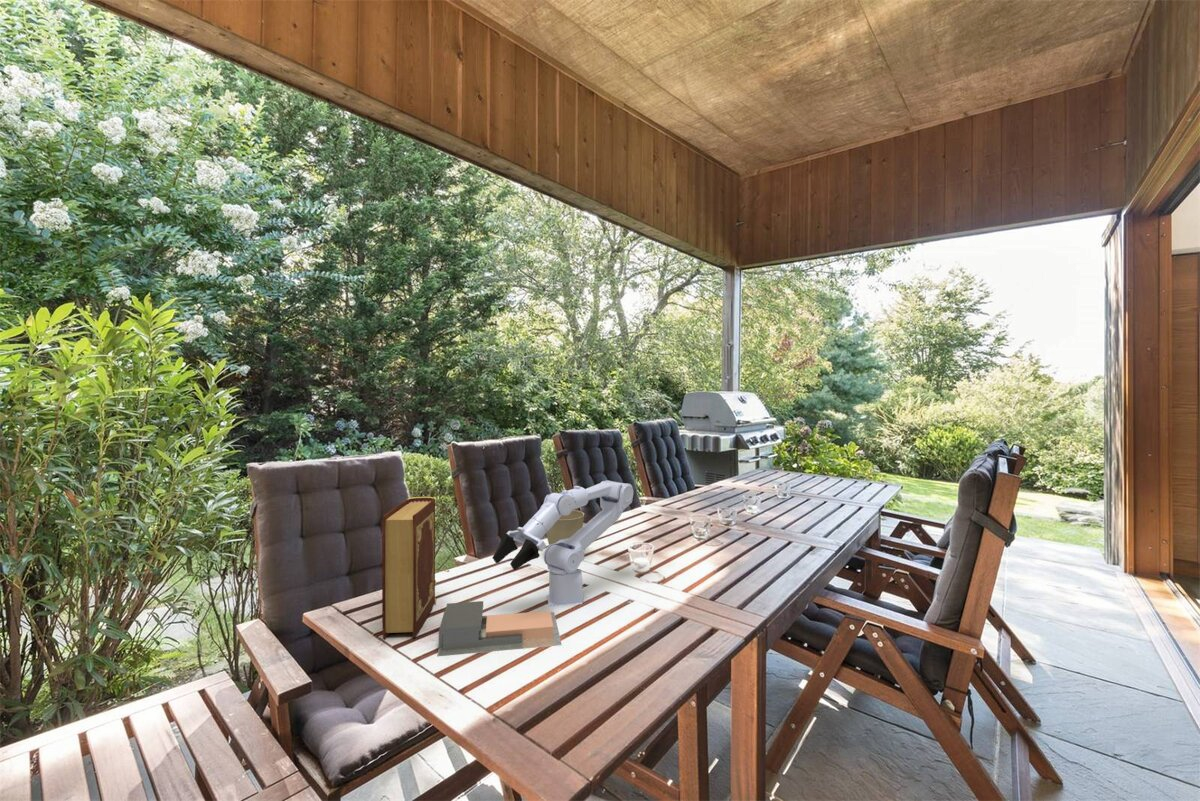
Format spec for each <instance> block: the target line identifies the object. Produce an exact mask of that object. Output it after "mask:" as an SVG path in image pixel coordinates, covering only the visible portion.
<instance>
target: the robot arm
mask: <svg viewBox="0 0 1200 801" xmlns="http://www.w3.org/2000/svg"><path fill="white" fill-rule="evenodd" d="M634 492H635V491H634V487H633V485H632V484H631V483H625V482H618V481H612V480H609V479H608V480H602V481H601V482H600V483H597V484H595V485H592V486H590V487H587V488H584V487H582V486H579V485H574V486H573V488H572V489H569V490H566V489H563V490H561V492H560V493H557V492H552V493H550V494H546V496H545V497H544V500H543V504H542V505H541V506H540V508H539V509H538V511H537V512H535V514H534V515H533V516H532V517H531V518H530V519H529V520H528V521H527V522H526V523H525V524H524V526H523V527H521V526H518V527H517V528H516V530H508V531H507V532H503V534H502V535H501V540H500V542H499V544H498V546H497V549H496V550H495V553H494V554H493V556H492V559H493V561H494V563H496V564H499V563H500V562H502V561H503V560H504V558H506V557H507V556H508V555H509V554H511V553H513V552H514V551H517V550H518V549H519V547H518V546H517V544H516V543H519V544H522V546H521V547H520V549H519V551H518V552H517V553H516V555H515V556H514V558H513V559H512V560H511V562H510V564H509V565H510V567H511V568H512V569H513V571H516V570H518V569H519V568H520V567H522V566H523V565H525V564H527V563H529V562H531V561H532V560H535V559H538V558H539V557H540V555H541V554H540V553H539V552H543V551H544V552H543V561H544V563H545V565H547V570H549V571H548V577H549V578H548V582H549V583H548V585H549V586H548V588H549V589H548V590H549V591H548V592H549V593H548V594H547V595H546V600H547V603H548V607H559V606H560V607H562V606H571V605H572V606H573V605H582V604H583V573H582V569H580V568H579V566H580V565H581V563H582V562H583V560H585V551H586V549H587V548H588V547H590V546H591V545H592V544H593V543H594V542H595V541H597V539H598V538H600V537H601V535H603V534H604V533H605V532H607V530H609V528H610V527H612V526H613V525H614V524H615V523H616V522H617V521H618V520H619V518H620V517H621V515H622V514H623V513H624V510H625V509H627V508H628V507H629V506H630V505H631V504H632V503H633V498H634ZM598 498H599V503H600V505H599V506H600V509H601V511H599V512H598V513H597V514H595V515H594V516H593V517H592V518H591V519H590V520H589V521H588V522H586V523H585V524H583V527H582V528H581V529H579V530H578V531H577V532H576V533H575V534H574V535H572V536H571V537H570V538H567V539H563V540H559V541H558V542H557V543H554V544H550V545H549V544H548V546H547V545H546V542H545V541H544V540H542V539H543V537H544V536H545V535H546V533H547V531H548V530H549V529H550V528H551V527H552V526H553V525H554V524H555V523H556V521H557V520H558V519H559V518H560V517H561V515H564V516H566V515H569V514H570V513H571V512H572V510H577V509H579V508H582V507H584V506H587V504H588V503H589V501H591V500H595V499H598ZM578 568H579V569H578Z"/></svg>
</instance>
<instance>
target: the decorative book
mask: <svg viewBox="0 0 1200 801" xmlns="http://www.w3.org/2000/svg"><path fill="white" fill-rule="evenodd" d="M436 504H437V498H436V497H434V496H433V497H432V496H414V497H408V498H406V499H405V500H404V501H402V502H401V503H399V504H398V505H397V506H395V507H393V508H392V509H390V510H389V511H387V512H386V513H385V514H384V515H383V518H382V533H381V535H382V537H381V540H382V542H381V550H382V551H381V555H382V557H381V559H382V560H381V568H382V569H381V571H382V572H381V576H382V578H381V580H382V581H381V585H382V586H381V590H382V591H381V594H382V596H381V598H382V599H381V600H382V601H381V602H382V604H381V605H382V606H381V608H382V609H381V610H382V611H381V616H382V617H381V618H382V621H381V622H382V637H383V638H382V639H383V640H384V641H385V640H386V639H387V636H388V635H389V634H393V633H395V634H396V633H397V634H398V633H412V639H413V638H414V637H415V638H416V636H417V635H418V634H417V633H419V632H420V631H419V630H421V629H422V627H423V625H424V624H425V622H426V620H427V619H428V617H429V615H430V614H431V612H432V610H433V608H434V606H435V605H436V604H437V598H436V585H437V580H436V570H437V565H436V536H437V532H436V522H437V517H436ZM415 638H414V639H415Z"/></svg>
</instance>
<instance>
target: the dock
mask: <svg viewBox="0 0 1200 801" xmlns="http://www.w3.org/2000/svg"><path fill="white" fill-rule="evenodd" d="M483 611H484V600H481V601H480V600H479V601H467V602H466V601H465V602H451V603H450V602H449V603H446V607H445V610H444V611H443V615H442V618H441V621H440V622H441V623H440V626H439V630H438V651H437V653H436V657H446V656H457V655H469V654H479V653H480V654H482V653H492V652H500V651H501V652H502V651H512V650H514V651H515V650H524V649H525V650H526V649H536V648H545V647H557V646H562V641H561V637H560V636H561V635H560V632H559V627H558V623H557V619H556V615H555V612H554V611H553V612H552V611H550V613H551V617H552V622H553V637H541V638H530V639H522V634H515V635H503V636H492V637H486V622H487V616H490V615H491V614H490V615H483V613H484V612H483ZM513 614H515V613H513ZM500 615H503V614H500Z"/></svg>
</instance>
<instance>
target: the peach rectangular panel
mask: <svg viewBox="0 0 1200 801" xmlns="http://www.w3.org/2000/svg"><path fill="white" fill-rule="evenodd" d="M550 612H551V610H544V611H543V610H542V611H532V612H531V611H529V612H516V613H515V614H514V613H506V614H505V613H504V614H503V615H501V614H492V615H491V614H490V616H488V615H486V616H487V622H486V637H492V636H503V635H515V634H522V639H530V638H541V637H553V622H552V617H551V613H550Z"/></svg>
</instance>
